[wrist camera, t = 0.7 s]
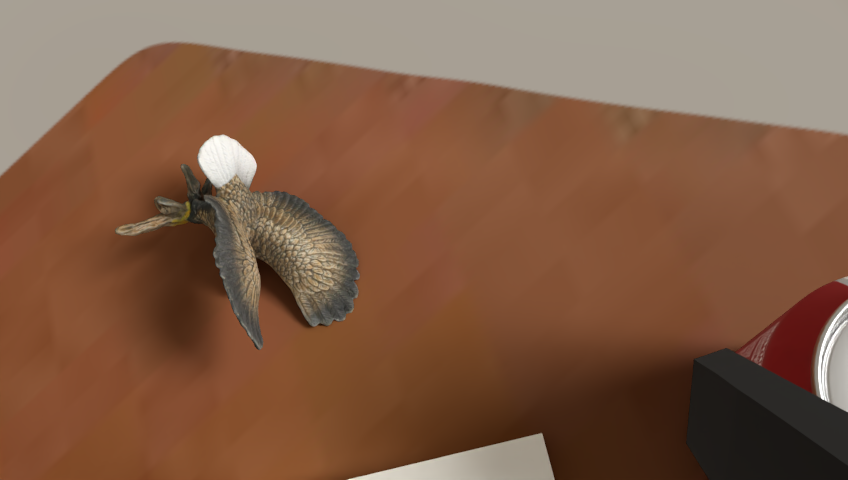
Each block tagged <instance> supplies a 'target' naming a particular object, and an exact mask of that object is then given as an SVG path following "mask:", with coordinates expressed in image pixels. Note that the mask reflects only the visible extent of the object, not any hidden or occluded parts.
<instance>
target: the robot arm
mask: <svg viewBox="0 0 848 480" xmlns="http://www.w3.org/2000/svg"><path fill="white" fill-rule="evenodd" d="M686 444H687V445H688V447H689V448H690V450H691V452H692V453H693V455H694V456H695V458H696V460H697V461H698V463H699V464H700V466H701V468H702V469H703V471H704V472H705V474H706V475H707V477H708V478H709V480H848V412H847V411H845V410H843V409H841V408H839V407H837V406H835V405H833V404H831V403H829V402H827V401H825V400H823V399H822V398H820V397H818V396H816V395H814V394H812V393H810V392H808V391H807V390H805V389H803V388H801V387H799V386H797V385H795V384H793V383H792V382H790V381H788V380H786V379H784V378H782V377H780V376H779V375H777V374H775V373H773V372H771V371H769V370H767V369H766V368H764V367H762V366H760V365H758V364H756V363H754V362H752V361H751V360H749V359H747V358H745V357H743V356H741V355H739V354H737V353H735V352H733V351H731V350H729V349H727V348H725V349H723V350H720V351H717V352H714V353H711V354H708V355H705V356H702V357H699V358H696V359H694V365H693V376H692V387H691V397H690V408H689V419H688V430H687V441H686Z"/></svg>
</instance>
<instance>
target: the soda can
mask: <svg viewBox="0 0 848 480" xmlns="http://www.w3.org/2000/svg"><path fill="white" fill-rule="evenodd" d="M735 353H737V354H739V355H741V356H743V357H745V358H747V359H749V360H751V361H752V362H754V363H756V364H758V365H760V366H762V367H764V368H766V369H767V370H769V371H771V372H773V373H775V374H777V375H779V376H780V377H782V378H784V379H786V380H788V381H790V382H792V383H793V384H795V385H797V386H799V387H801V388H803V389H805V390H807V391H808V392H810V393H812V394H814V395H816V396H818V397H820V398H822V399H823V400H825V401H827V402H829V403H831V404H833V405H835V406H837V407H839V408H841V409H843V410H845V411H847V412H848V277H845V278H842V279H839V280H836V281H833V282H831V283H828V284H826V285H824V286H822V287H820V288H818V289H817V290H815V291H813V292H812V293H810V294H808V295H807V296H806V297H804V298H803V299H802V300H801V301H799V302H798V303H797V304H795V305H794V306H793V307H792V308H790V309H789V310H788V311H787V312H785V313H784V314H783V315H782V316H780V317H779V318H778V319H777V320H775V321H774V322H773V323H771V324H770V325H769V326H768V327H766V328H765V329H764V330H763V331H761V332H760V333H759V334H758V335H756V336H755V337H754V338H753V339H751V340H750V341H749V342H748V343H746V344H745V345H744V346H743V347H741V348H740V349H739V350H737V351H736V352H735Z"/></svg>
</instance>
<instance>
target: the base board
mask: <svg viewBox="0 0 848 480" xmlns="http://www.w3.org/2000/svg"><path fill="white" fill-rule="evenodd" d="M348 480H555V479H554V475H553V471H552V468H551V464H550V460H549V457H548V453H547V449H546V446H545V442H544V438H543V435H542V433H540V434H536V435H532V436H527V437H523V438H519V439H515V440H511V441H507V442H502V443H498V444H494V445H490V446H486V447H482V448H477V449H473V450H469V451H465V452H461V453H456V454H452V455H448V456H444V457H440V458H436V459H431V460H427V461H423V462H419V463H415V464H411V465H406V466H402V467H398V468H394V469H390V470H386V471H381V472H377V473H373V474H369V475H365V476H361V477H356V478H352V479H348Z"/></svg>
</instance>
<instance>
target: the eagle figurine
mask: <svg viewBox="0 0 848 480" xmlns="http://www.w3.org/2000/svg"><path fill="white" fill-rule="evenodd" d="M197 159H198V163H199V166H200V168H201V170H202V171H203V173H204V174H205V176H206V177H207V179H206V182H205V184H204V186H203V188H202V190H201V191H200V183H199V181H198V180H197V179H196V178H195V176H194V175H193V173H192V171H191V169H190V168H189V166H187V165H185V164H182V165H181V169H182V171H183V173H184V175H185V178H186V182H187V187H188V193H187V196H188V199H189V201H186V202H184V203H183V204H181V203H179V202H176V201H174V200H171V199H168V198H164V197H161V196H158V197H156V198H155V200H154V203H155V206H156V207H157V209H158V210H159V211H160V212H162V213H160V214H158V215H156V216H154V217H151V218H149V219H147V220H145V221H142V222H139V223H135V224H126V225H122V226H120V227H118V228H116V229H115V233H116V234H119V235H129V236H136V235H139V234H141V233H146V232H150V231H154V230H157V229H159V228H161V227H163V226H176V225H181V224H186V223H187V222H192V223H197V224H204V225H206V226H208V227H209V228H210V229H211V230H212V231H213V233H214V234H215V237H216V238H215V242H216V247H215V248H214V251H213V257H214V258H215V265H216V267H217V268H219V269H220V273H219V275H220V276H221V278H222V279H223V285H224V288H225V290H226V292H227V295H228V298H229V300H230V303H231V306H232V309H233V311H234V313H235V315H236V316H237V319H238V320H239V322H240V324H241V326H242V327H243V328H244V329H245V330H246V332H247V334H248V336H249V337H250V338H251V339H252V341H253V343H254V345H255V347H256V348H257V349H258V350H260V349H261V348H262V347H263V338H262V336H261V331H260V327H259V317H258V301H259V298H260V282H261V281H260V274H259V271H258V267H257V262H256V258H257V259H260V260H262V261H264V262H266V263H267V264H268V265H270V266H271V267H272V268H273V269H274V270H275V272H276V273H277V274H278V275H279V276H280V277H281V279H282V280H283V281H284V282H285V283H286V284H287V286H288V287H289V288H290V290H291V291H292V293H293V296H294V298H295V300H296V302H297V304H298V306H299V308H300V309H301V311H302V313H303V315H304V317H305V319H306V320H307V321H308V323H309V324H310V325H311V326H313V327H314V326H317V325H318V324H319V323H321V324H324V325H326V326H328V325H330V324H331V323H332V321H333V320H336V321H343V320H345V318H346V314H347V313H351V312H352V311H353V309H354V304H353V299H354V298H357V296H358V288H357V285H356V284H355V282H354V280H357V279H359V277H360V274H359V273H358V271H357V269H356V267H358V265H359V261H358V259H357V257H356V253H355V252H354V251H353V250H352V244H351V243H350V242H349V241H348V240H347V239H346V237H345V235H344V234H343V233H342V232H340V231H338V230H337V229H336V227H335V226H334V225H333V224H332V223H331V222H330V221H328V220H325V219H323V216H322V215H320V214H319V213H318V212H317V211H316V210H315V209H313V208H310V207H309V204H308V203H306V202H305V201H304V200H303V199H300V198H298V197H297V196H295V195H290V194H288V193H287V192H279V191H274V192H272V193H271V192H263V193H260V192H259V191H255V192H253V193H251V192H250V190H249V188H250V185H251V182H252V180H253V177H254V174H255V172H256V168H257V164H256V162H255V160H254V158H253V156H252V155H251V154H250V153H249V152H248V151H247V150H246V149H244V148H243V147H242V146H241V145H240V144H239V143H238V141H236V140H234V139H230V138H229V137H228V136H226V135H220V136H213V137H211V138H210V139H209V140H207V141H206V142H205V143H204V144H203V146H202V147H201V148H200V150H199V154H198V157H197ZM212 184H213V185H214V187H215V189H216V193H217V195H216V197H213V196H212V192H211V189H212Z"/></svg>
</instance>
